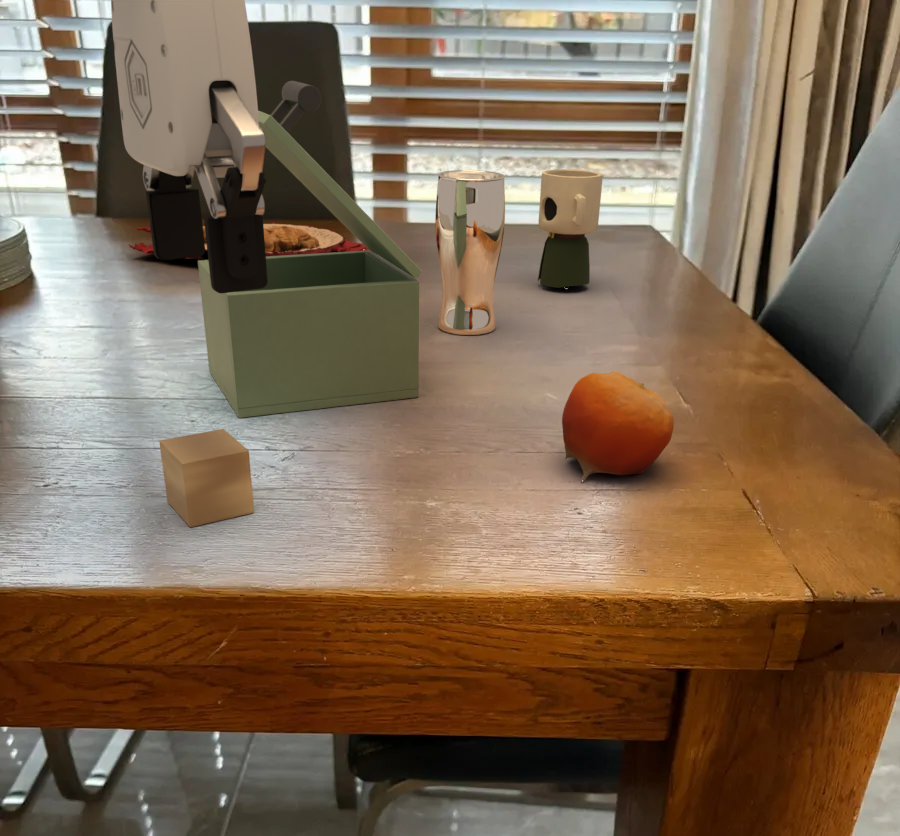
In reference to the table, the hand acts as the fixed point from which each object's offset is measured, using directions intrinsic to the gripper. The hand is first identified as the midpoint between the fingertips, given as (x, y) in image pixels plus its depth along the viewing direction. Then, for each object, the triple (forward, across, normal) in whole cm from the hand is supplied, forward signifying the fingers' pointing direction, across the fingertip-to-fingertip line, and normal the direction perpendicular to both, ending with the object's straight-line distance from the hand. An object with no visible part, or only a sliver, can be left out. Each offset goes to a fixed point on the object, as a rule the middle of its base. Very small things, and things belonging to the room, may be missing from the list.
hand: (208, 272), depth 59 cm
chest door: (-1, -18, +17) cm, 24 cm away
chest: (+15, -18, +15) cm, 28 cm away
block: (+15, +1, -2) cm, 15 cm away
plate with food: (+15, -70, +33) cm, 79 cm away
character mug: (+15, -36, +58) cm, 70 cm away
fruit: (+15, +9, +26) cm, 31 cm away
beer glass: (+15, -27, +37) cm, 48 cm away
